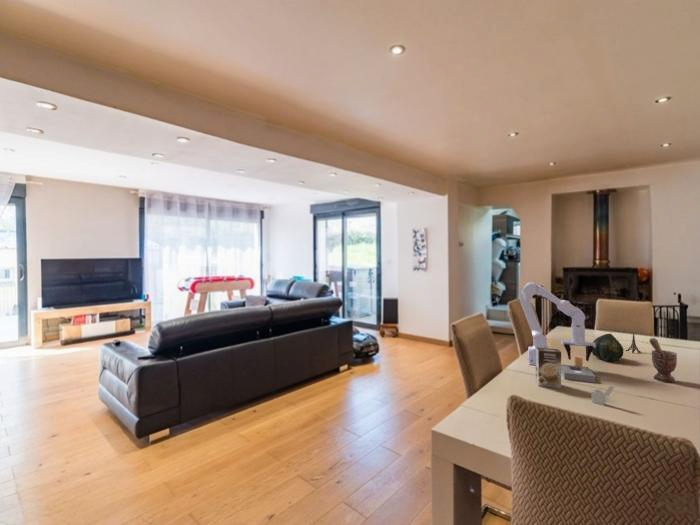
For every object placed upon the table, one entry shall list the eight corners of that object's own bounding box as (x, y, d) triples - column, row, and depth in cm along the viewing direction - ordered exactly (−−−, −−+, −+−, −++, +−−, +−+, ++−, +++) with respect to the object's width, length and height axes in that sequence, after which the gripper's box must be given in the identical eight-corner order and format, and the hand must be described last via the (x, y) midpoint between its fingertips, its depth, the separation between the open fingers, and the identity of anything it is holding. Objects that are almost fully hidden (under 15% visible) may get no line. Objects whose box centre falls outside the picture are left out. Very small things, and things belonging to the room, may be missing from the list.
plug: (575, 369, 175) (575, 357, 175) (573, 367, 179) (573, 355, 179) (582, 370, 174) (582, 358, 174) (580, 367, 178) (580, 356, 178)
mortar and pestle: (671, 386, 152) (671, 341, 151) (646, 380, 159) (646, 337, 159) (679, 381, 158) (679, 337, 158) (655, 375, 165) (655, 334, 165)
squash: (589, 351, 189) (610, 332, 186) (582, 345, 203) (602, 327, 199) (612, 370, 185) (635, 351, 181) (604, 363, 199) (625, 345, 195)
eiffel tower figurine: (651, 353, 204) (651, 331, 204) (649, 357, 197) (649, 333, 197) (620, 348, 215) (620, 327, 215) (616, 352, 208) (616, 330, 208)
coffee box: (538, 386, 153) (537, 350, 153) (535, 381, 159) (535, 347, 159) (561, 388, 150) (561, 352, 150) (558, 383, 156) (557, 348, 156)
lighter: (591, 402, 136) (591, 382, 136) (592, 400, 138) (592, 380, 137) (613, 407, 131) (613, 386, 131) (614, 406, 132) (614, 385, 132)
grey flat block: (564, 379, 162) (564, 372, 162) (559, 370, 175) (559, 363, 175) (595, 382, 157) (595, 375, 157) (587, 373, 170) (587, 366, 170)
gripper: (562, 334, 176) (563, 360, 176) (597, 336, 170) (597, 363, 170) (560, 331, 182) (560, 356, 182) (593, 333, 176) (593, 359, 176)
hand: (578, 359), depth 176 cm, fingers open, 7 cm apart
